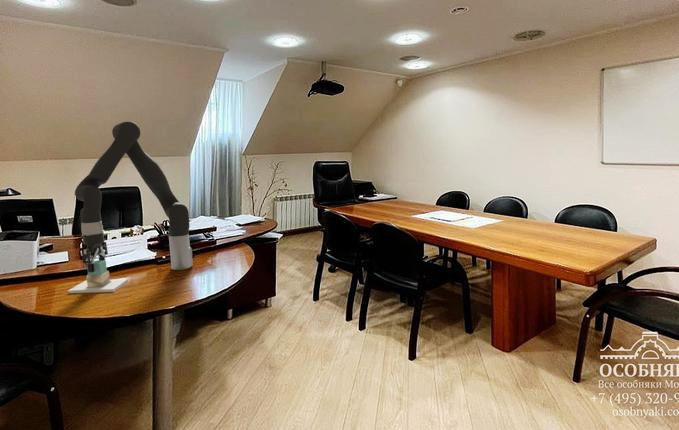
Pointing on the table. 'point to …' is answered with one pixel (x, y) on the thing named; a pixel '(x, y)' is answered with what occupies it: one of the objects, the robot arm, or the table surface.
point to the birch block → (98, 280)
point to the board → (109, 287)
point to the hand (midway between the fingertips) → (97, 268)
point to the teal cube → (99, 267)
